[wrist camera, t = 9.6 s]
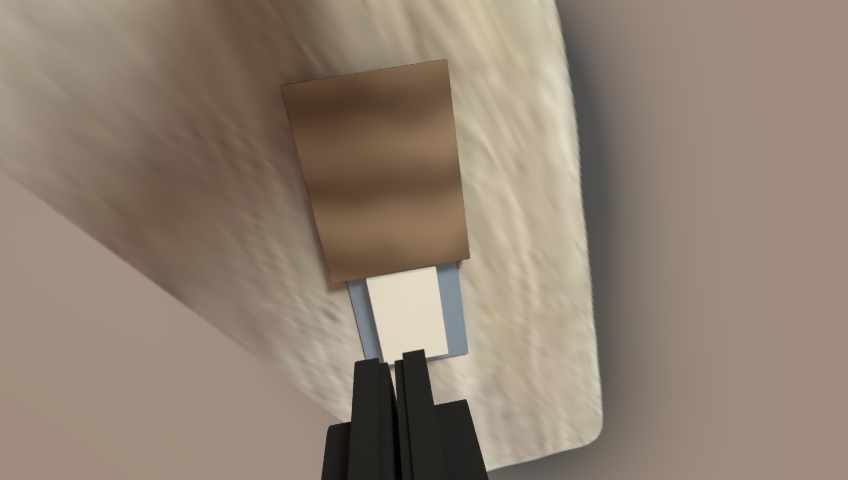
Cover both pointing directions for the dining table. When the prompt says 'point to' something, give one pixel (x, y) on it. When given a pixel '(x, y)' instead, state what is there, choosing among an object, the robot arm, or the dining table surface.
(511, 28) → the dining table surface
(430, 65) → the plate
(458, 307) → the mat
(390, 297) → the cream rectangular block
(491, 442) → the dining table surface
